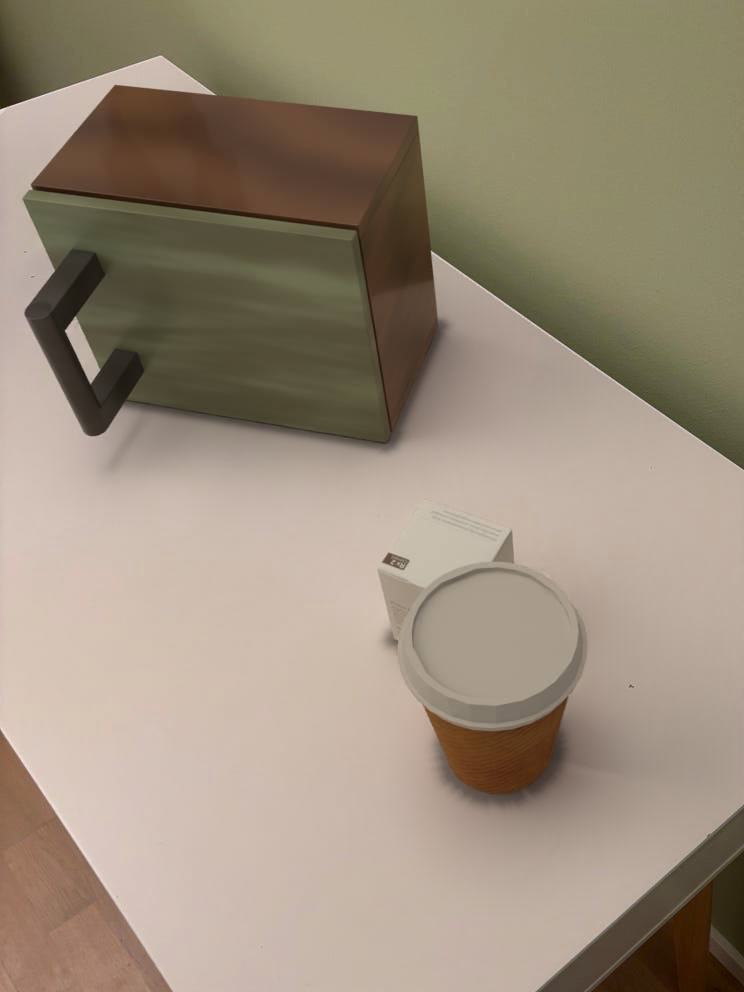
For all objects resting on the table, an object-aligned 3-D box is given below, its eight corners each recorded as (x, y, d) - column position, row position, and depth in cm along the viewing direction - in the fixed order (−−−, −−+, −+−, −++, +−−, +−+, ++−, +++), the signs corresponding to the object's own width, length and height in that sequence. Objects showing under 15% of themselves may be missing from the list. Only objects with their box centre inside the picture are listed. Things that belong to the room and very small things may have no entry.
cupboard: (392, 432, 75) (358, 225, 61) (120, 388, 79) (29, 184, 65) (438, 325, 82) (417, 115, 67) (184, 289, 86) (114, 84, 71)
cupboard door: (355, 514, 71) (311, 316, 57) (69, 463, 75) (-37, 266, 61) (391, 433, 75) (357, 230, 61) (118, 389, 79) (28, 188, 65)
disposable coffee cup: (502, 853, 57) (495, 752, 47) (384, 749, 61) (354, 635, 51) (614, 740, 60) (629, 624, 50) (495, 649, 64) (487, 524, 54)
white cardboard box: (518, 600, 66) (516, 526, 60) (476, 674, 63) (469, 604, 57) (434, 570, 68) (424, 495, 62) (390, 640, 65) (374, 568, 59)
